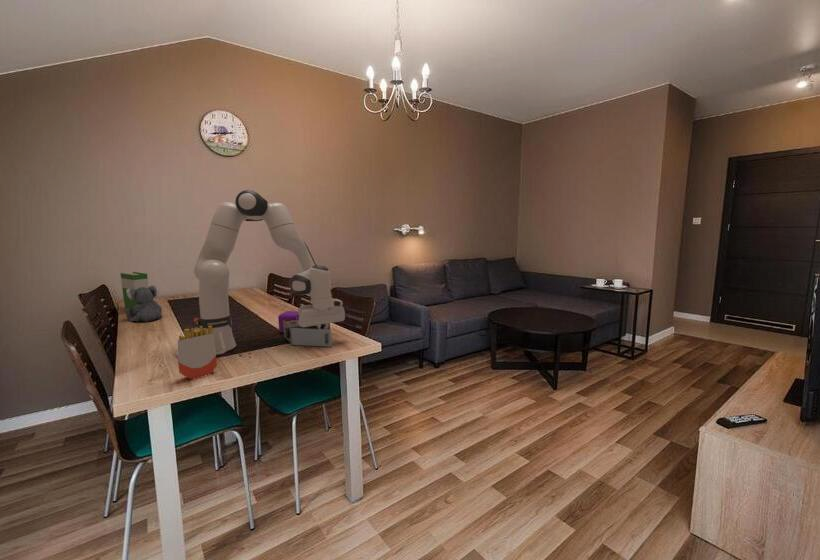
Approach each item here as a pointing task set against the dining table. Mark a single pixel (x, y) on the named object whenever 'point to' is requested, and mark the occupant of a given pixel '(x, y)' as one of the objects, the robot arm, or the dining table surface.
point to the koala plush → (144, 304)
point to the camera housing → (296, 325)
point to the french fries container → (196, 353)
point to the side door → (311, 337)
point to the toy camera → (287, 318)
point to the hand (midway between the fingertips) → (322, 333)
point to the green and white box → (132, 286)
